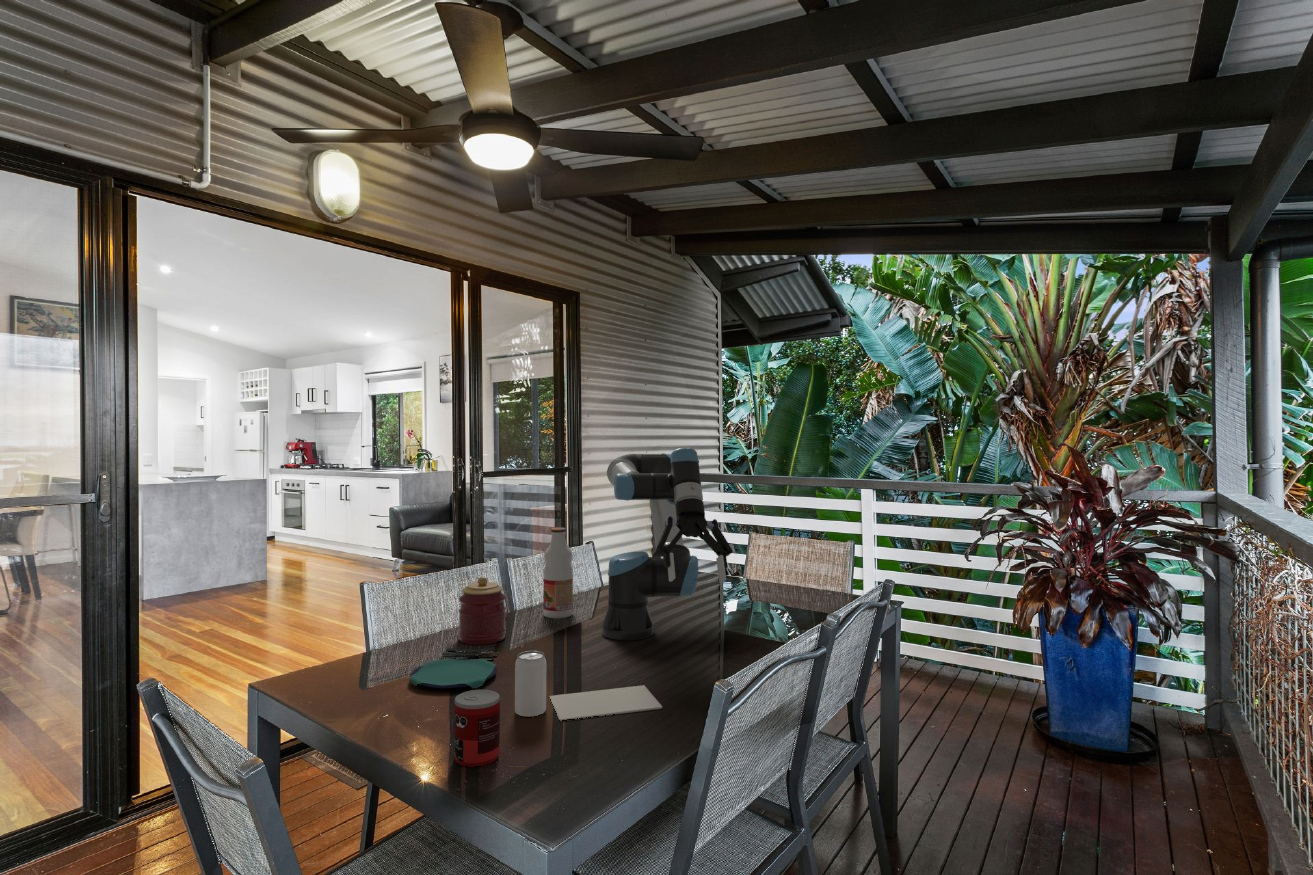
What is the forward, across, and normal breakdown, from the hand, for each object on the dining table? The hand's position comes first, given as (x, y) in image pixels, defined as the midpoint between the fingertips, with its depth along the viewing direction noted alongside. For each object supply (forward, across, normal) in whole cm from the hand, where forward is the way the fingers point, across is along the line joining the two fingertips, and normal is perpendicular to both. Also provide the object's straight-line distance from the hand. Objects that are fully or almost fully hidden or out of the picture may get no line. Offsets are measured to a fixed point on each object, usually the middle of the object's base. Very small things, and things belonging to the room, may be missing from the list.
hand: (697, 580), depth 170 cm
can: (+29, -41, +1) cm, 51 cm away
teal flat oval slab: (+16, -54, +28) cm, 63 cm away
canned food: (+39, -53, -14) cm, 67 cm away
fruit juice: (-9, -22, +65) cm, 69 cm away
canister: (+2, -47, +49) cm, 68 cm away
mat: (+28, -25, 0) cm, 38 cm away
